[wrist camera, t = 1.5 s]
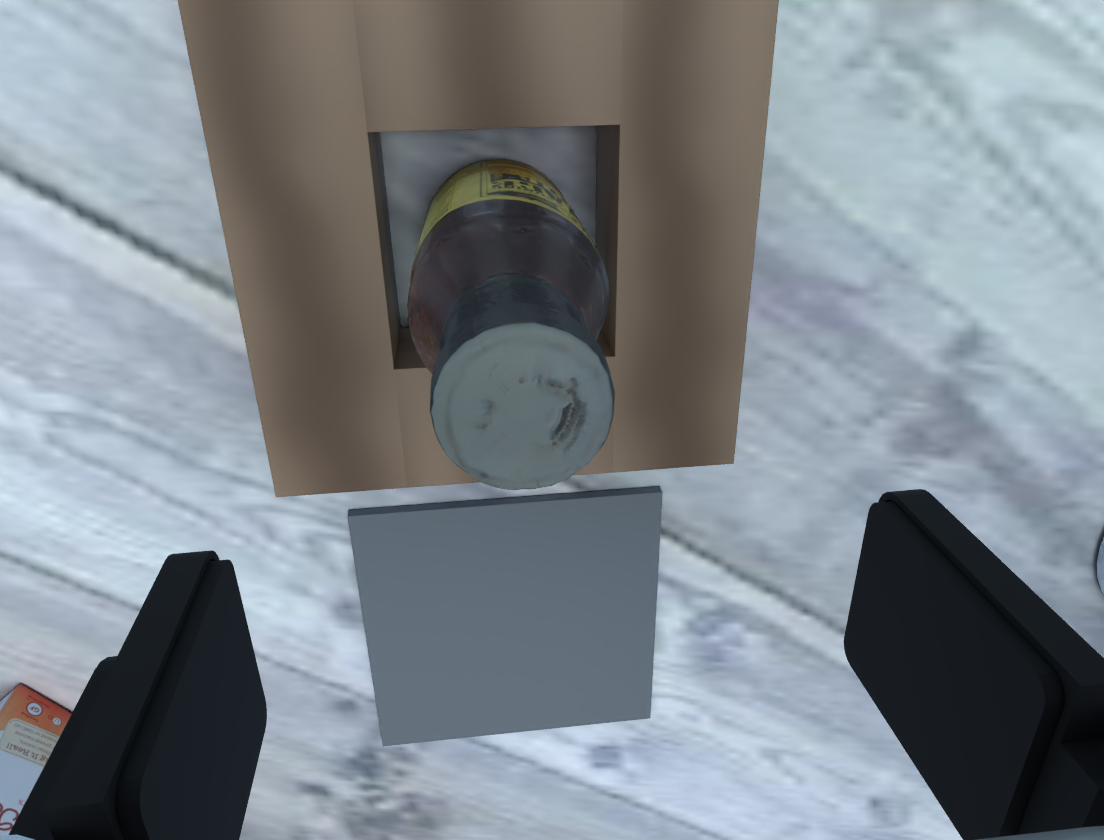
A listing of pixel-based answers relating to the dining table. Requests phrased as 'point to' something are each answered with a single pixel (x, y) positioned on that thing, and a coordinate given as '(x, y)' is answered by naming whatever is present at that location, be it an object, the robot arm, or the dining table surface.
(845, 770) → the dining table surface
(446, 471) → the holder block
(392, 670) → the rubber mat
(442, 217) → the sauce bottle
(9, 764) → the cracker box
